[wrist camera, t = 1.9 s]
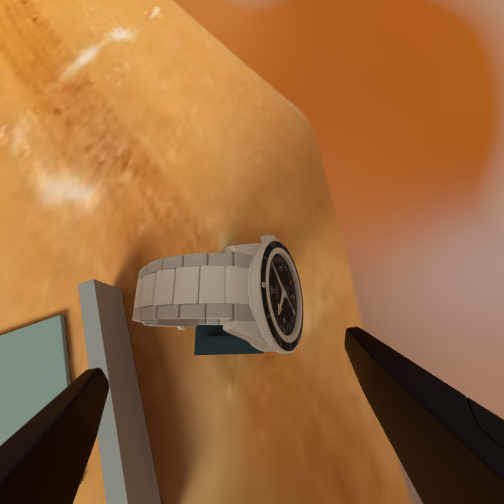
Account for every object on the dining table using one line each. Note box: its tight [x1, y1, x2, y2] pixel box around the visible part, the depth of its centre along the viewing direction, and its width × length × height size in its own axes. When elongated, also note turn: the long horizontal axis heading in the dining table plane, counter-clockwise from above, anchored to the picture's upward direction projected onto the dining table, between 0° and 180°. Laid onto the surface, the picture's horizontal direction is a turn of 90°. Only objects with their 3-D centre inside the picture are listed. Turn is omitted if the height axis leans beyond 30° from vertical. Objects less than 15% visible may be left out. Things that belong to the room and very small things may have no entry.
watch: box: [132, 235, 303, 355], centre depth 13 cm, size 6×8×11 cm
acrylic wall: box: [78, 279, 161, 504], centre depth 15 cm, size 16×1×4 cm, turn 21°
